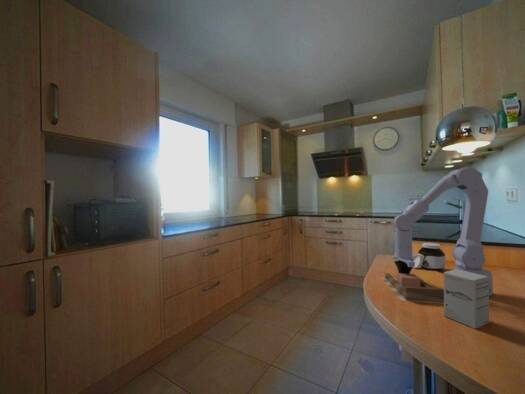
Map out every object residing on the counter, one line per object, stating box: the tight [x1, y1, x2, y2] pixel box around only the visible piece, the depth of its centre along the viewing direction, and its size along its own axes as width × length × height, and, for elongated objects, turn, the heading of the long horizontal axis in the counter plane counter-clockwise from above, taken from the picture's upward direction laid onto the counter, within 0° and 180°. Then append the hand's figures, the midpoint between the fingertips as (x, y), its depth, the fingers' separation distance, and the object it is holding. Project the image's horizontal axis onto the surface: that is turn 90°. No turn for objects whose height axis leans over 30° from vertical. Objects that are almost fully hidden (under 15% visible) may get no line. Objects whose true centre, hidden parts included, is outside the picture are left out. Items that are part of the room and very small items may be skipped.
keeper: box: [396, 272, 421, 287], centre depth 85 cm, size 5×6×4 cm
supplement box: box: [443, 268, 490, 330], centre depth 63 cm, size 7×7×13 cm
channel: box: [381, 272, 444, 305], centre depth 83 cm, size 22×14×5 cm, turn 168°
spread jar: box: [412, 242, 447, 272], centre depth 108 cm, size 12×11×12 cm
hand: (404, 280), depth 89 cm, fingers closed
